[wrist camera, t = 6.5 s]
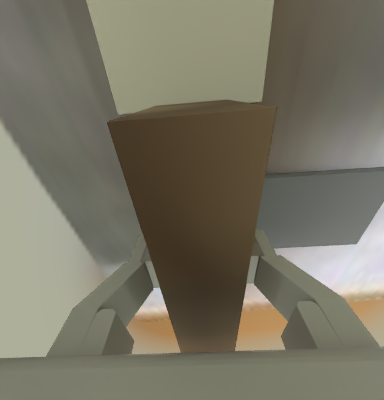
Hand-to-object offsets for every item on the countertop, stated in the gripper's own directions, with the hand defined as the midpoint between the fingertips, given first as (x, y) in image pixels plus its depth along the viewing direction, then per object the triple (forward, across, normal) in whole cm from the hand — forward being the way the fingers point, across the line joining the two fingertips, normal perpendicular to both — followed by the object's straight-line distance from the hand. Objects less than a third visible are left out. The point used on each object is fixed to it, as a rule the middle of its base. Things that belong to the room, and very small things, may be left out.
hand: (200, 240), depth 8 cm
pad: (+5, -8, +2) cm, 10 cm away
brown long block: (+2, 0, 0) cm, 2 cm away
